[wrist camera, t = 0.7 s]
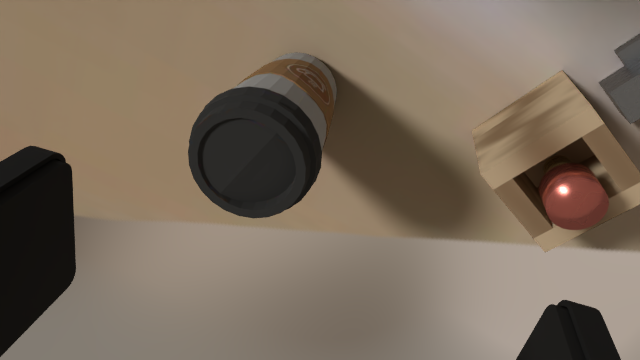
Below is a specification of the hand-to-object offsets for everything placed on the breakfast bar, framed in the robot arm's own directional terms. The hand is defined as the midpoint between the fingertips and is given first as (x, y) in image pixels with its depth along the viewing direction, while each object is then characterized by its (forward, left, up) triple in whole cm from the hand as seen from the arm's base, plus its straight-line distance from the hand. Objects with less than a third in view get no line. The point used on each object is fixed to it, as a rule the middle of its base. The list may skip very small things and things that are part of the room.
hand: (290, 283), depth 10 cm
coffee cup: (+6, -8, -33) cm, 35 cm away
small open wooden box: (+11, +12, -33) cm, 37 cm away
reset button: (+11, +12, -28) cm, 32 cm away
